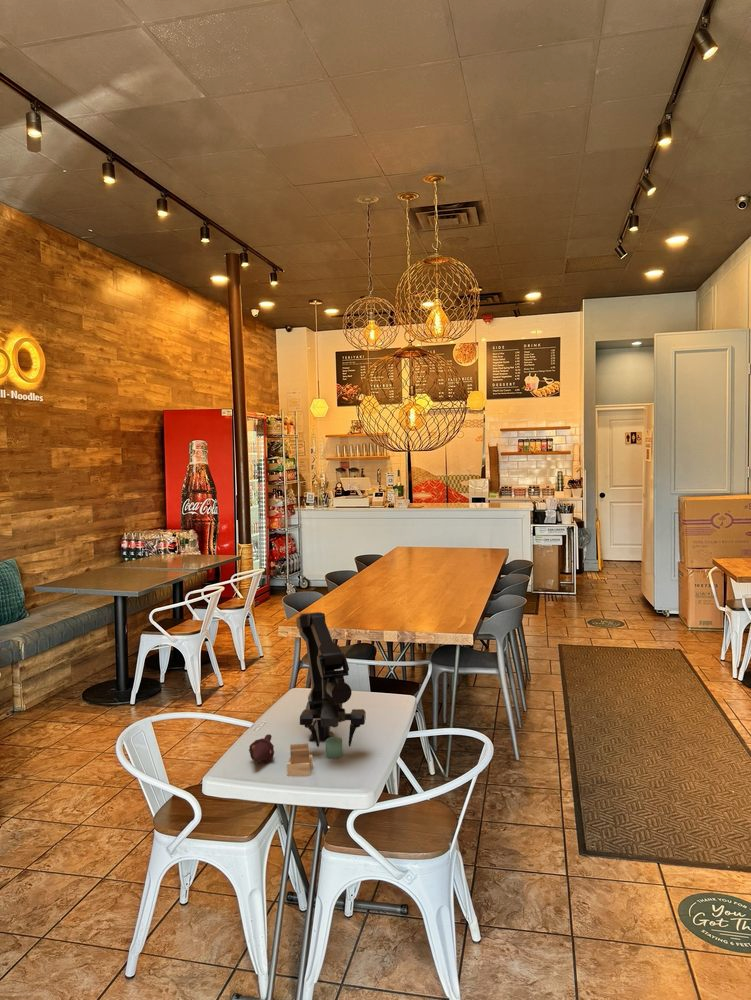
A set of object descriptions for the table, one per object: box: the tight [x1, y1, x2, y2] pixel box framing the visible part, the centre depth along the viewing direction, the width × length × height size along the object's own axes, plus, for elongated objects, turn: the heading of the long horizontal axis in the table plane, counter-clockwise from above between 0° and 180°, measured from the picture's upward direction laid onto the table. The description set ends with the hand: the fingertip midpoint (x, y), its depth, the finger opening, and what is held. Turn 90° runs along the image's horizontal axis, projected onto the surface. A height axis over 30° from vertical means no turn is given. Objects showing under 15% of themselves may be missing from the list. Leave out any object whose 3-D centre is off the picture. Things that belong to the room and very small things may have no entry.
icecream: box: [248, 734, 275, 764], centre depth 201 cm, size 7×7×15 cm
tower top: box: [289, 742, 310, 764], centre depth 194 cm, size 5×5×4 cm
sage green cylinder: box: [325, 736, 344, 760], centre depth 204 cm, size 5×5×4 cm
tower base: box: [286, 754, 314, 777], centre depth 194 cm, size 6×6×4 cm
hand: (333, 746), depth 204 cm, fingers open, 9 cm apart
